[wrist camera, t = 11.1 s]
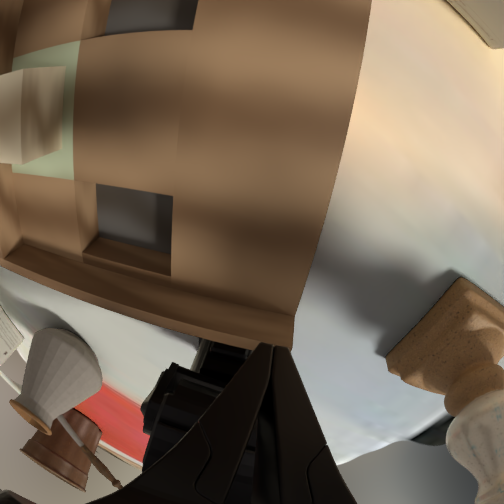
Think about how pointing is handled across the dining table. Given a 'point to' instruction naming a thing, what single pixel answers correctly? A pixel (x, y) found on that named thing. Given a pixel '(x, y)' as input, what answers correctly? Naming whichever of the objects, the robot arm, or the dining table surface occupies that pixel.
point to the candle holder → (463, 378)
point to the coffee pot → (59, 384)
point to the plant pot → (65, 449)
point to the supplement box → (484, 19)
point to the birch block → (31, 113)
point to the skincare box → (8, 337)
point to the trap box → (183, 155)
